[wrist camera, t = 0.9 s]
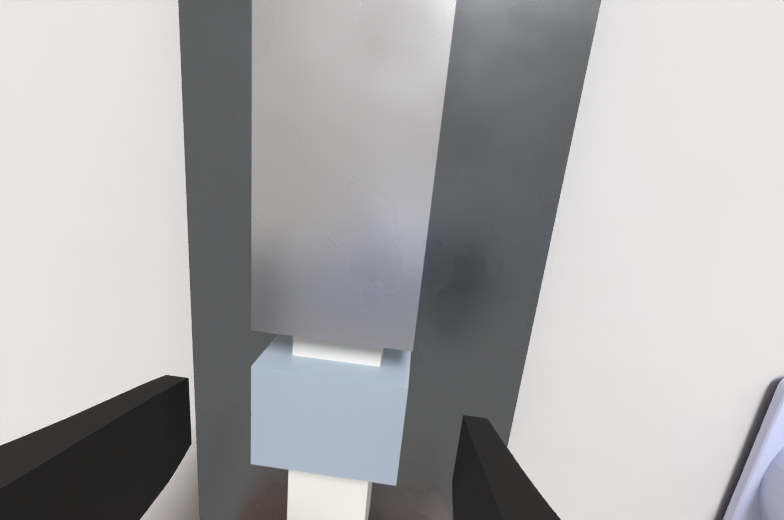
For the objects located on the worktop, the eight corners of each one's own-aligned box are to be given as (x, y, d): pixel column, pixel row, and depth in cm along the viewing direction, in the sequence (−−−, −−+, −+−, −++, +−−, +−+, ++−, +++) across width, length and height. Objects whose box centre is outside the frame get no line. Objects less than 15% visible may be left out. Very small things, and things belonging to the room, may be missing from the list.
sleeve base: (597, -44, 11) (727, -194, 6) (458, 641, 19) (470, 811, 14) (195, -72, 12) (37, -227, 7) (215, 600, 19) (145, 748, 14)
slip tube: (447, 47, 11) (456, -4, 7) (391, 504, 15) (380, 607, 12) (306, 35, 11) (251, -19, 8) (290, 488, 15) (250, 586, 12)
